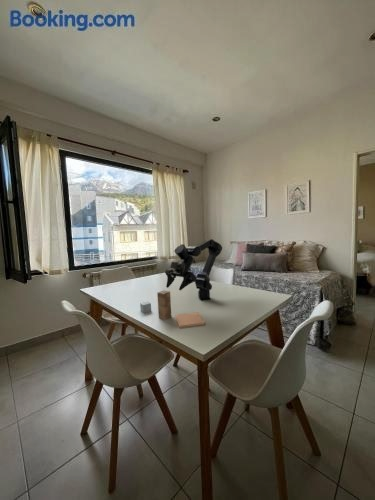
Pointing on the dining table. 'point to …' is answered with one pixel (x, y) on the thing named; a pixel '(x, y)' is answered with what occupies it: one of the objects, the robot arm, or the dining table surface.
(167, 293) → the walnut block
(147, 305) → the blue-grey cube
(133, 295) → the dining table surface
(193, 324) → the terracotta tile
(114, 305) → the dining table surface
